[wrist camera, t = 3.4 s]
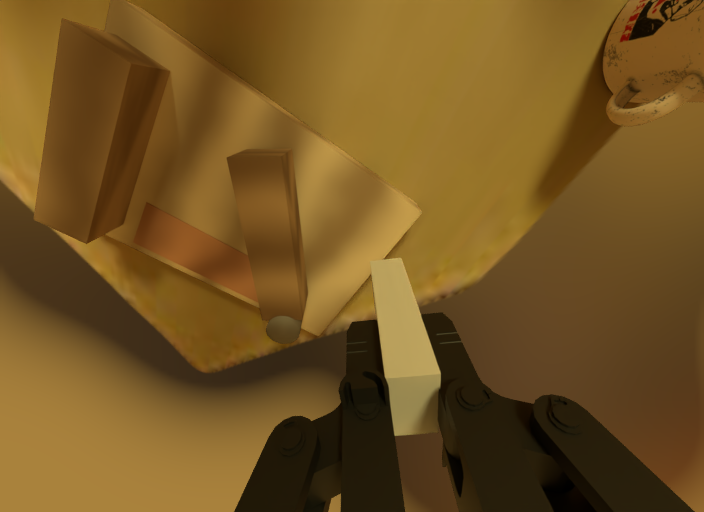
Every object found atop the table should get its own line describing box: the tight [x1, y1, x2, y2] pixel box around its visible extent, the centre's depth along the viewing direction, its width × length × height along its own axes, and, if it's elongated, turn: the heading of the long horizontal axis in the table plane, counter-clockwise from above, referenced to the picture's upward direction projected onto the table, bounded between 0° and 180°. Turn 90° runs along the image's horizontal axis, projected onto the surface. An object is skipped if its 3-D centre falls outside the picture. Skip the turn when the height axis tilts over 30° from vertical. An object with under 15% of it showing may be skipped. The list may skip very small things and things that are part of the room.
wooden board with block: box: [34, 0, 422, 337], centre depth 24 cm, size 26×18×7 cm
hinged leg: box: [227, 148, 308, 344], centre depth 24 cm, size 16×4×4 cm, turn 1°
